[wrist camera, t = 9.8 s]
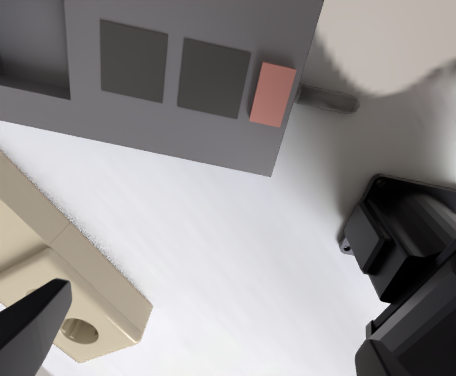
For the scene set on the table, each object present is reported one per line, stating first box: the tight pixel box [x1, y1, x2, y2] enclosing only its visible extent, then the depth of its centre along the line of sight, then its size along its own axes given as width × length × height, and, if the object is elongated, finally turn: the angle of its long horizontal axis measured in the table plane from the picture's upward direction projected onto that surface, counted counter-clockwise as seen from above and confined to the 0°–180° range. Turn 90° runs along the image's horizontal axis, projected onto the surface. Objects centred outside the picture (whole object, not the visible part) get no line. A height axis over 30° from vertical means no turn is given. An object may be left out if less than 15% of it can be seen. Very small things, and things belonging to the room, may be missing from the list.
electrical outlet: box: [0, 150, 153, 363], centre depth 23 cm, size 7×4×18 cm
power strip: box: [0, 0, 359, 177], centre depth 15 cm, size 24×9×3 cm, turn 79°
